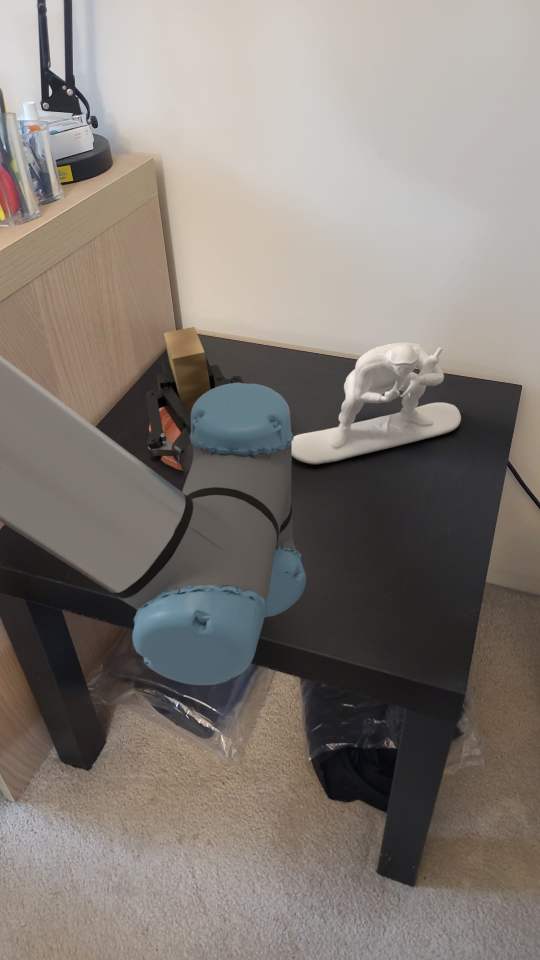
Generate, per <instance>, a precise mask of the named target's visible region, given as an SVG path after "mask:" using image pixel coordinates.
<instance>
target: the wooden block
mask: <svg viewBox="0 0 540 960" xmlns="http://www.w3.org/2000/svg"><path fill="white" fill-rule="evenodd" d="M163 336H164V341H165V346H166V351H167V356H168V359H169V362H170V366H171V369H172V372H173V375H174V378H175V381H176V386H177V393H178V397H179V399H180V400H181V402H182V403H183V404H184V406H185V407H186V409H187V410H188V411H189V413H191V411H192V408H193V406H194V404H195V402H196V401H197V400H198V399H199V398H200V397H201V396H202V395H203V394H205V393H206V392H208V391H209V390H211V389H210V383H209V376H208V370H207V364H206V358H207V356H206V357H205V355H206V352H205V350H204V347H203V345H202V343H201V339H200V337H199V335H198V333H197V330H196V327H195V326H191V327H186V328H180V329H177V330H171V331H167V332H164V333H163Z"/></svg>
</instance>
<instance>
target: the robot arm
mask: <svg viewBox="0 0 540 960" xmlns="http://www.w3.org/2000/svg"><path fill="white" fill-rule="evenodd" d="M205 357H206V364H207V370H208V376H209V383H210V389H211V390H209V391H208V392H206V393H205V394H203V395H202V396H201V397H200V398H199V399H198V400H197V401H196V402H195V404H194V406H193V408H192V411H191V413H189V411H188V410H187V409H186V407H185V406H184V404H183V403H182V402H181V400H180V399H179V397H178V393H177V386H176V381H175V378H174V375H173V372H172V369H171V366H170V362H169V357H168V353H163V354H160V359H161V365H162V374H157V376H156V381H157V388H158V391H155V390H148V391H146V392H145V400H146V406H147V412H148V419H149V426H151V431H150V432H149V434H148V436H147V439H146V444H147V450H148V455H149V460H150V461H151V462H153V463H157V462H160V461H162V460H161V458H162V456H173V458H174V459H175V461H177V462H178V463H179V464H180V465H181V467H182V470H181V471H182V475H183V477H184V481H185V482H184V484H183V487H182V490H179V489H178V488H177V487H176V486H174V485H173V484H172V483H171V482H169V481H168V480H166V479H165V478H164V477H162V476H161V475H160V474H158V473H157V472H156V471H155V470H154V469H152V468H151V467H149V466H148V465H147V464H145V463H144V462H142V461H141V460H140V459H138V457H137V456H135V455H133V453H130V451H128V450H126V448H124V447H123V446H121V445H120V444H119V443H118V442H116V441H114V439H112V438H111V437H110V436H108V435H107V434H106V433H104V432H103V431H101V430H100V429H99V428H98V427H96V426H95V425H93V424H92V423H91V422H90V421H88V420H87V419H86V418H84V417H83V416H82V415H80V414H79V413H77V412H76V411H75V410H73V409H72V408H71V407H70V406H68V405H67V404H66V403H64V402H63V401H62V400H60V399H59V398H58V397H56V396H55V395H54V394H53V393H51V392H50V391H48V390H47V388H45V387H43V386H42V385H40V384H39V383H38V382H37V381H36V380H34V379H33V378H31V377H30V376H28V375H27V374H26V373H25V372H23V371H22V370H21V369H19V368H18V367H16V365H14V364H12V362H10V361H9V360H7V359H6V358H5V357H3V356H2V355H1V354H0V522H1V523H2V524H4V525H5V526H6V527H8V528H10V529H11V530H13V531H14V532H16V533H17V534H19V535H21V536H22V537H24V538H25V539H27V540H28V541H30V542H32V543H33V544H35V545H36V546H38V547H39V548H41V549H43V550H44V551H46V552H47V553H48V554H50V555H52V556H54V557H55V558H56V559H58V560H60V561H61V562H63V563H64V564H66V565H67V566H69V567H71V568H72V569H74V570H75V571H77V572H78V573H80V574H81V575H83V576H85V577H86V578H88V579H89V580H91V581H93V582H94V583H96V584H97V585H99V586H100V587H102V588H103V589H105V590H107V591H108V592H110V593H111V594H113V595H115V596H116V597H117V598H118V599H119V600H120V601H123V602H124V603H126V604H127V605H129V606H131V607H132V608H133V609H135V610H136V613H135V616H134V617H133V624H134V625H133V626H134V627H133V630H132V635H131V636H132V645H133V648H134V649H135V652H136V653H137V654H138V655H139V656H141V657H142V658H143V663H144V664H145V665H146V666H147V667H148V668H149V669H150V670H152V671H154V672H155V673H157V674H158V675H160V676H162V677H163V678H166V679H169V680H172V681H174V682H177V683H181V684H186V685H192V686H212V685H213V686H214V685H219V684H223V683H226V682H227V681H230V680H231V679H235V678H237V677H238V676H240V675H242V674H243V673H244V672H245V671H246V670H247V669H248V668H250V667H249V666H250V665H251V663H252V661H253V659H254V657H255V655H256V650H257V646H258V643H259V639H260V635H261V632H262V629H263V625H264V622H265V619H266V618H268V617H269V618H270V617H275V616H277V615H280V614H282V613H283V612H285V611H287V610H288V609H290V608H291V607H292V606H293V605H295V604H296V603H297V602H298V600H299V599H300V598H301V597H302V595H303V593H304V591H305V588H306V585H307V575H306V571H305V569H304V566H303V563H302V559H303V557H302V553H301V552H299V550H297V547H296V545H295V541H294V535H293V534H294V533H293V503H292V461H293V459H292V458H293V456H292V441H293V437H294V436H295V435H294V433H293V432H292V424H291V423H292V422H291V411H290V406H289V405H288V402H287V400H286V399H285V398H284V397H283V396H282V395H281V394H280V393H279V392H277V391H275V390H274V389H272V388H270V387H269V386H266V385H263V384H258V383H245V382H244V380H243V378H242V377H241V376H239V375H233V376H231V378H226V377H225V376H224V375H223V372H222V370H221V368H220V366H218V364H213V365H210V362H209V360H208V358H207V355H206V354H205ZM162 407H164V408H165V410H166V411H167V413H168V414H169V416H170V417H171V419H172V420H173V422H174V423H175V425H176V426H177V428H178V429H179V431H180V432H181V433H180V435H179V436H178V437H177V439H176V440H175V441H174V443H173V444H172V443H170V442H169V438H167V437H166V435H165V434H164V433H163V428H162V423H161V417H160V411H159V409H160V408H162Z"/></svg>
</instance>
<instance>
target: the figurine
mask: <svg viewBox="0 0 540 960" xmlns="http://www.w3.org/2000/svg"><path fill="white" fill-rule="evenodd" d="M442 351H443V347H441V346H439V347H438V348H437V350H436V351H435V353H434V354H430V353H429V352H428V350H427V349H425V347H424V346H422V345H421V344H418V343H413V342H407V341H406V342H392V343H388V344H384V345H379V346H376V347H373V348H371V349H369V350H367V351H366V352H365V353H364V354H362V355H361V356H360V357H359V358H358V359H357V360H356V363H355V364H354V365H355V366H354V369H353V370H352V371H351V372H349V374H348V375H347V377H346V378H345V382H344V384H343V391H344V394H345V398H344V401H343V402H342V404H341V406H340V409H341V411H340V413H339V415H338V421H339V424H338V426H336V427H332V428H326V429H321V430H316V431H311V432H306V433H305V432H304V433H299V434H297V435H293V436H294V437H293V441H292V458H294V459H295V460H296V461H299V462H300V463H305V464H308V465H321V464H329V463H333V462H334V463H335V462H339V461H342V460H346V459H349V458H353V457H357V456H362V455H366V454H371V453H374V452H380V451H382V450H383V451H384V450H388V449H391V448H395V447H399V446H403V445H407V444H411V443H415V442H419V441H423V440H425V439H426V440H427V439H431V438H434V437H438V436H441V435H445V434H448V433H450V432H453V431H454V430H456V429H457V428H458V427H459V426H460V424H461V421H462V415H461V413H460V410H459V408H458V407H456V405H454V404H451V403H448V402H442V401H441V402H431V403H427V404H423V405H420V406H418V405H419V399H420V398H421V397H422V396H423V395H424V393H425V391H426V389H427V387H436V386H438V385H441V384H442V383H443V382H444V379H445V374H444V371H443V369H442V368H441V367H440V366H439V364H438V363H439V361H440V359H439V356H440V355H441V353H442ZM415 368H416V369H418V371H419V373H416V372H414V370H415ZM400 391H401V392H402V394H401V392H400ZM399 397H400V398H401V405H402V407H401V409H400V412H396V413H393V414H392V413H391V414H388V415H382V416H378V417H375V418H371V419H365V420H361V421H357V422H355V420H356V416H357V415H358V414H359V413H360V412H361V410H362V408H363V407H364V404H365V403H366V404H382V403H383V404H386V403H391V402H393V401H394V400H396V399H397V398H399Z"/></svg>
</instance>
